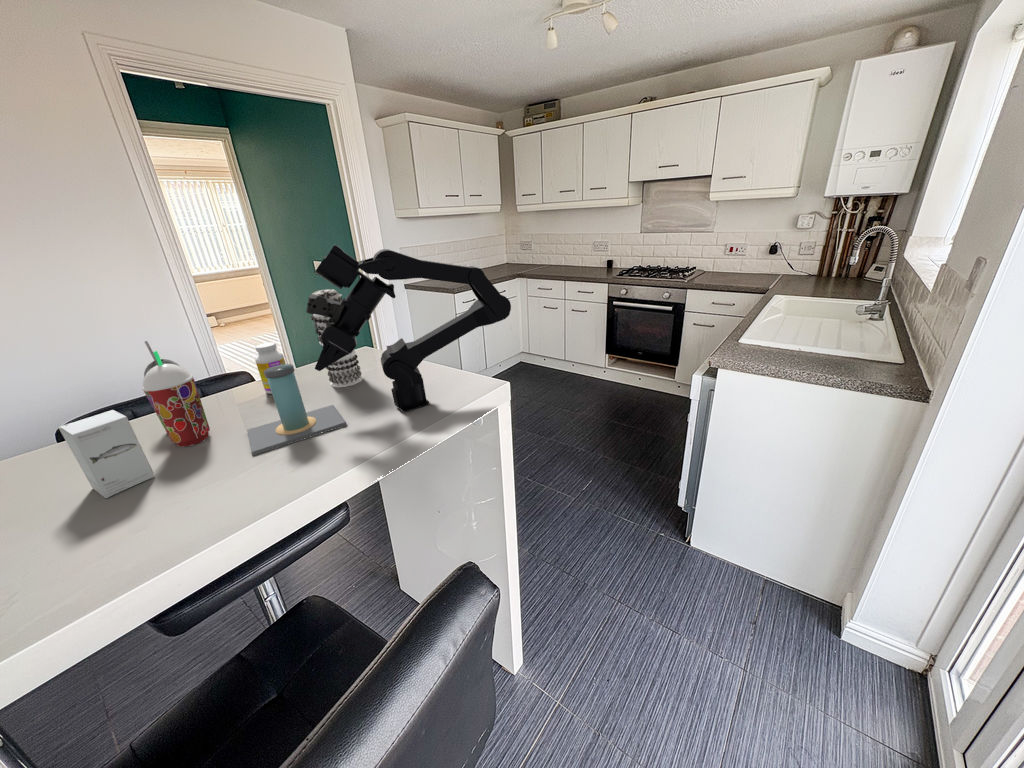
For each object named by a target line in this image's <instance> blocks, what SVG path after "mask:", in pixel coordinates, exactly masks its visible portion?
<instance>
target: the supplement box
mask: <svg viewBox="0 0 1024 768" xmlns="http://www.w3.org/2000/svg"><path fill="white" fill-rule="evenodd" d="M58 429H59V431H60V433H61V435H62V438H64V440H65V443H66V444H67V445H68V448H69V449H70V451H71V452H72V454H73V456H74V458H75V460H76V461H77V463H78V465H79V467H80V469H81V470H82V473H84V476H85V478H86V479H87V481H88V483H89V485H90V487H91V488H92V489H93V490H94V491H96V492H97V493H98V494H99V495H101V496H102V497H103V498H105V499H108V498H110V497H112V496H114V495H117V494H119V493H121V492H123V491H125V490H127V489H130V488H131V487H134V486H136V485H139V484H142V482H145V481H147V480H151V479H154V478H155V477H156V474H155V472H154V470H153V468H152V466H151V464H150V462H149V460H148V458H147V456H146V454H145V451H144V450H143V448H142V446H141V444H140V442H139V441H140V440H138V438H137V435H136V433H135V430H134V429H133V427H132V425H131V422H130V421H129V418H128V416H126V415H124V414H122V413H120V412H119V411H116V410H114V409H111V410H108V411H104V412H101V413H99V414H95V415H92V416H90V417H89V416H88V417H85V418H82V419H80V420H79V419H78V420H77V421H74V422H70V423H66V424H63V425H61V426H59V427H58Z"/></svg>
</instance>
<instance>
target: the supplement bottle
mask: <svg viewBox="0 0 1024 768" xmlns="http://www.w3.org/2000/svg"><path fill="white" fill-rule="evenodd" d="M255 350H256V352H257V353H258V354H257V355H256V357H255V358H254V359H255V360H254V361H255V364H256V368H257V371H258V373H259V377H260V380H261V382H262V387H263V390H264V391H265V393H267V394H268V395H272V392H271V389H270V386H269V383H268V380H267V378H266V377H265V375H264V371H265V370H266V369H268V368H271V367H274V366H278V365H283V364H287V363H286V360H285V356H284V354H283V353H282V352H281V351H279V350H277V344H276V342H273V341H272V342H264V343H261V344H256V346H255Z"/></svg>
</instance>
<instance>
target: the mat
mask: <svg viewBox="0 0 1024 768" xmlns="http://www.w3.org/2000/svg"><path fill="white" fill-rule="evenodd" d="M306 414H307V417H308V421H309V423H308V424H307V425H306V426H305V427H303V428H300V429H297V430H293V431H286V430H284V428H283V425H282V422H281V419H279V420H276V421H273V422H269V423H266V424H262V425H259V426H256V427H252V428H249V429H246V432H247V437H248V443H249V447H250V452H251V455H252V456H256V455H259V454H262V453H265V452H268V451H271V449H272V450H275V449H278V448H280V446H281V447H284V446H286V445H285V444H287V445H289V444H288V443H290V444H292V443H291V442H293V443H296V442H299V441H298V440H300V441H302V440H301V439H303V440H305V439H304V438H306V439H308V437H309V438H311V437H310V436H312V437H314V436H313V435H315V436H317V435H316V434H318V435H320V434H319V433H321V432H324V433H326V432H325V431H328V430H331V429H334V430H336V429H335V428H337V429H339V427H340V428H343V427H346V426H348V424H347V421H346V420H345V418H344V417H343V416H342V414H341V413H340V412H339V410H338V409H337V407H336V406H335V405H334V404H330V405H326V406H324V407H320V408H317V409H314V410H310V411H306ZM345 425H346V426H345ZM342 426H343V427H342ZM331 431H332V430H331ZM328 432H329V431H328ZM321 434H322V433H321ZM295 441H296V442H295ZM283 445H284V446H283ZM277 447H278V448H277ZM274 448H275V449H274ZM264 451H265V452H264ZM261 452H262V453H261Z"/></svg>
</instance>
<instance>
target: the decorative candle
mask: <svg viewBox="0 0 1024 768" xmlns="http://www.w3.org/2000/svg"><path fill="white" fill-rule="evenodd" d="M311 295H316V296H318V295H320V296H321V297H327V299H331V300H334V301H338V302H342V300H343V298H342V296H343V294H342V293H339V291H337V290H335V289H329V288H328V289H321V290H320V289H319V290H316V291H314V292H312V293H311ZM310 318H311V321H313V328H315V334H317V335H318V337H317V340H318V341H319V345H320V346H321V347H322V348H323V347H324V345H323V342H322V340H321V334H322V332H323V331H324V329H325V328H326V324H327V322H328V320H329V318H330V317H326V316H322V315H318V314H311V316H310ZM328 323H329V322H328ZM332 323H333V322H331V323H330V324H332ZM355 349H356V348H355ZM355 349H354V350H353V351H352V353H350V354H348V355H346V356H344V357H342V358H341V359H339V360H337V361H336V362H334V363H332V364H331V365H329V366H327V367H326V368H325V369H326V370H327V376H328V381H329V382H330V386H331V387H332V388H346V387H350V386H355V385H357V384H359V383H360V382H362V380H363V377H362V371H361V366H360V365H358V364H359V360H358V355H357V353H356V350H355Z"/></svg>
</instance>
